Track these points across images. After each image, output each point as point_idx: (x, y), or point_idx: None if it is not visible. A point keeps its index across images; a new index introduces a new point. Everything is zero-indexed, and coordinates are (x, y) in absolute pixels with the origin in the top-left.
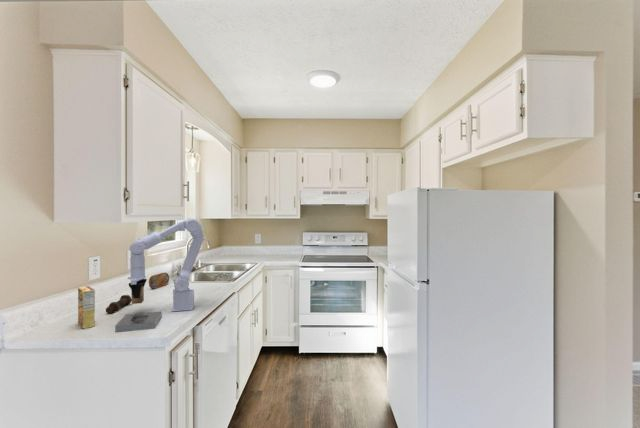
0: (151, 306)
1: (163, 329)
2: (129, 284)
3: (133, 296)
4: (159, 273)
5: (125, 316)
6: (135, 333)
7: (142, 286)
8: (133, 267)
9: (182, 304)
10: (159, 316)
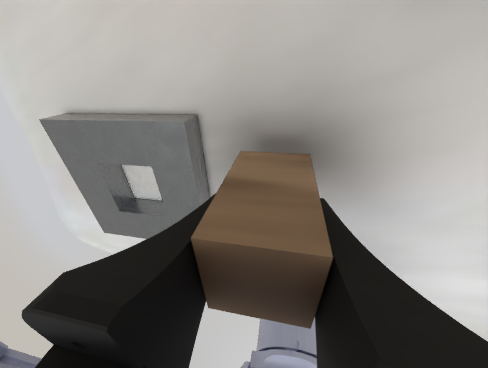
0: (406, 191)
1: (114, 235)
2: (33, 305)
3: (213, 195)
4: None
5: (149, 129)
6: None
7: (275, 319)
8: None
9: None
10: None
